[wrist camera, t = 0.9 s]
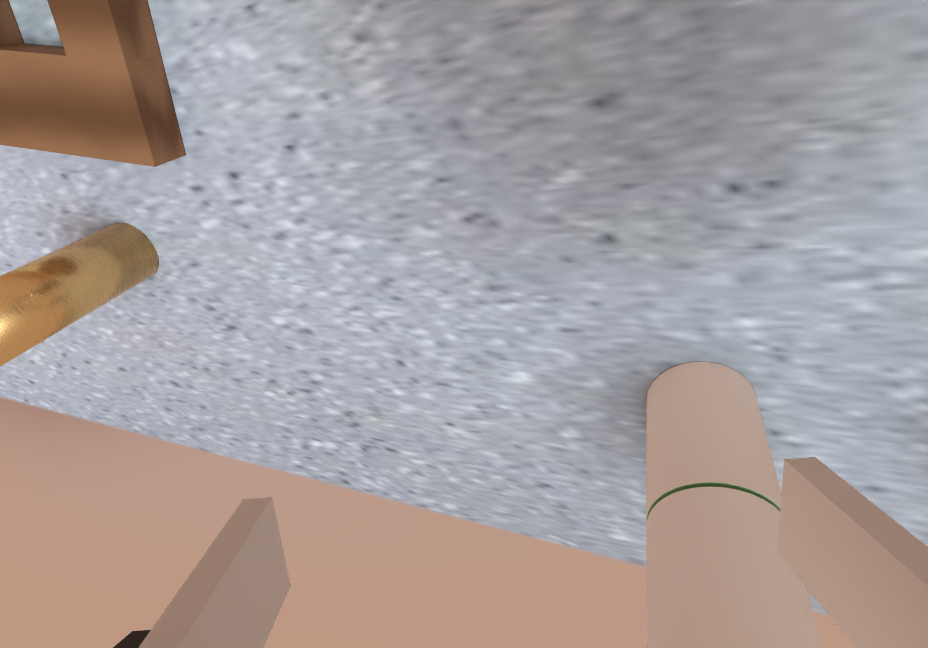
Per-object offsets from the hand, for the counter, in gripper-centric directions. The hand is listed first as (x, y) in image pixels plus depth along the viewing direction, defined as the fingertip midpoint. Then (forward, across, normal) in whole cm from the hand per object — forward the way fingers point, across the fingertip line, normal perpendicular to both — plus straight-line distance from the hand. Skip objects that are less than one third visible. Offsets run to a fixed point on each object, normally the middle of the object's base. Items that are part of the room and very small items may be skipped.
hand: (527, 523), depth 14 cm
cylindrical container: (+23, +14, -8) cm, 28 cm away
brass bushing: (+33, -30, +6) cm, 45 cm away
